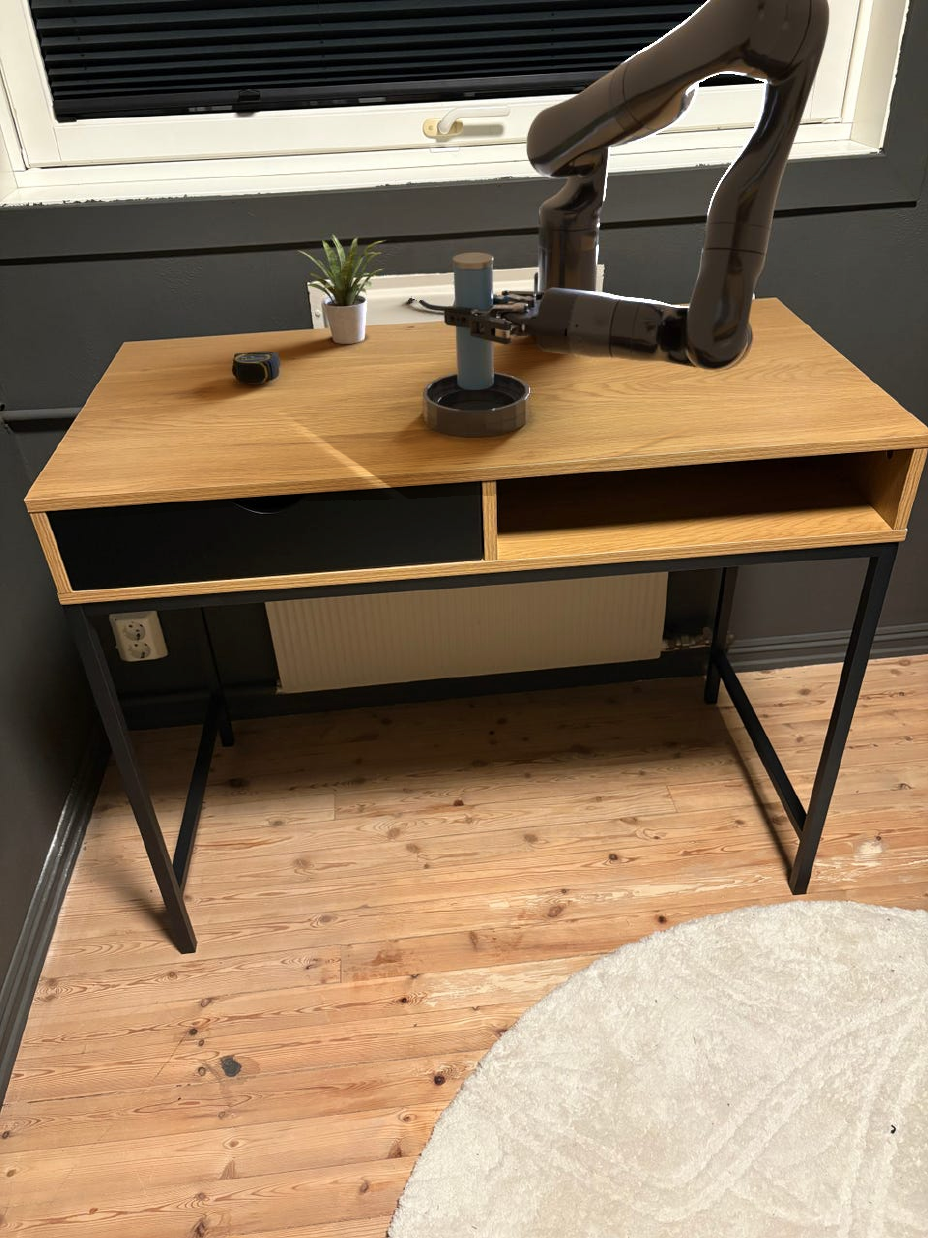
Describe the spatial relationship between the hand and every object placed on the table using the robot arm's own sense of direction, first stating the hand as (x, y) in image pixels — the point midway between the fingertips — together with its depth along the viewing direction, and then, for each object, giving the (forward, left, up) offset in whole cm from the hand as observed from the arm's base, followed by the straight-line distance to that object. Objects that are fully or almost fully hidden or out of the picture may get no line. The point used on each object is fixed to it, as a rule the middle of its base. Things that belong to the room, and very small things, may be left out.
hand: (455, 308), depth 119 cm
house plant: (-37, +5, -15) cm, 40 cm away
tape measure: (-31, -16, -15) cm, 37 cm away
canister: (+2, +1, -10) cm, 10 cm away
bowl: (+2, +1, -15) cm, 15 cm away
